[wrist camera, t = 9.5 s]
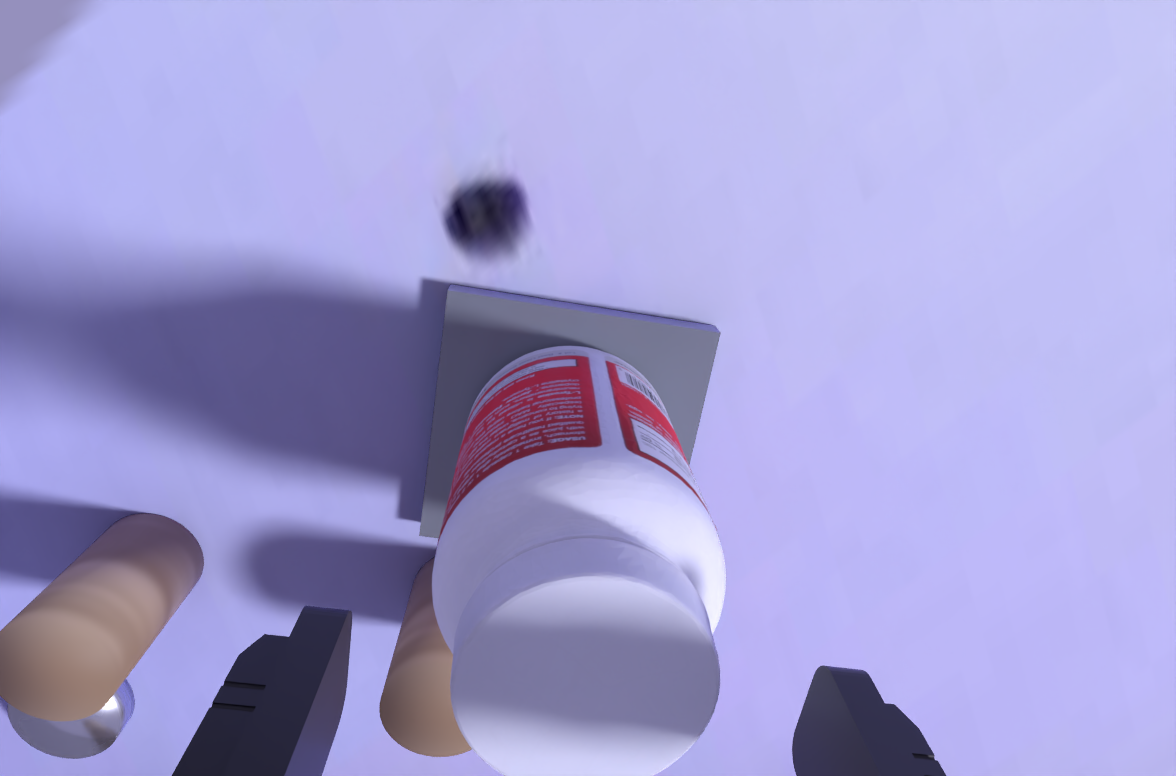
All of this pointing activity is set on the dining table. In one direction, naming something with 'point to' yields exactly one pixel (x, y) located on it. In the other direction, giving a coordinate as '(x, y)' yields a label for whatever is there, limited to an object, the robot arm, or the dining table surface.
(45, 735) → the shiny metal disc
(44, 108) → the dining table surface
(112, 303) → the dining table surface
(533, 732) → the pill bottle
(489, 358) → the slate coaster
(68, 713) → the cylinder
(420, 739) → the cylinder
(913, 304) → the dining table surface
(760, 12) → the dining table surface
